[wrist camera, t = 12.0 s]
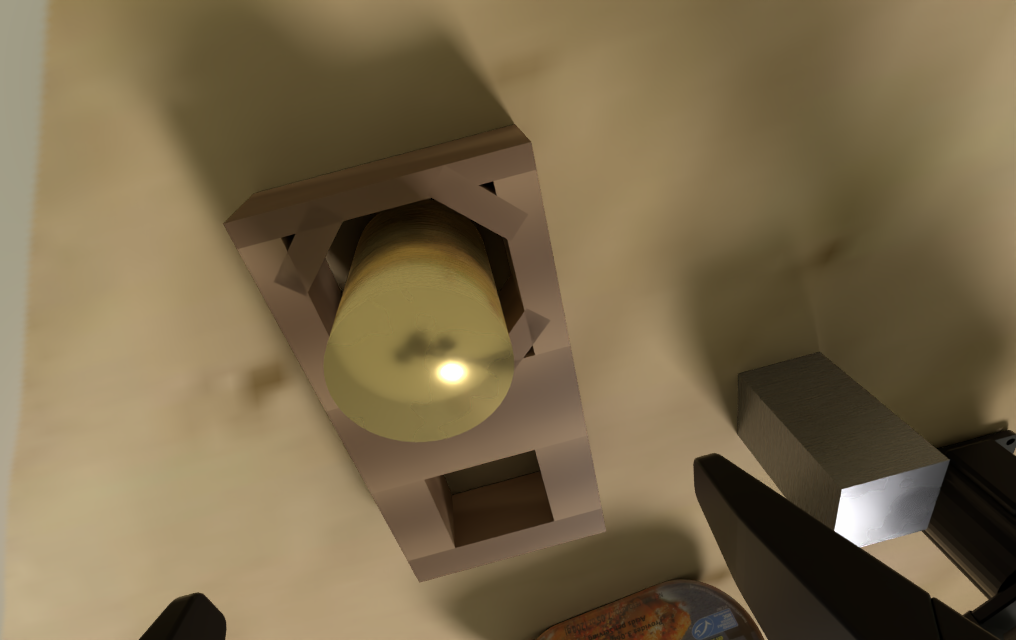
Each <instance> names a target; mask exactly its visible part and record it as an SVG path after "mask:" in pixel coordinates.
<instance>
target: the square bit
mask: <svg viewBox="0 0 1016 640" xmlns="http://www.w3.org/2000/svg"><path fill="white" fill-rule="evenodd" d="M737 434H738V436H739V437H740V438H741V440H742V441H743V442H744V444H745V445H746V446H747V448H748V449H749V450H750V452H751V453H752V454H753V455H754V457H755V458H756V459H757V461H758V462H759V463H760V465H761V466H762V467H763V469H764V470H765V471H766V473H767V474H768V475H769V476H770V478H771V479H772V480H773V482H774V483H775V484H776V486H777V487H778V488H779V490H780V491H781V492H782V494H783V495H784V496H785V497H786V499H788V500H789V501H791V502H792V503H794V504H795V505H797V506H798V507H800V508H801V509H803V510H804V511H806V512H807V513H809V514H810V515H812V516H813V517H815V518H816V519H818V520H819V521H821V522H822V523H824V524H825V525H827V526H828V527H830V528H831V529H833V530H834V531H836V532H837V533H839V534H840V535H842V536H843V537H845V538H846V539H848V540H849V541H851V542H852V543H854V544H855V545H857V546H858V547H863V546H867V545H871V544H874V543H878V542H882V541H885V540H889V539H893V538H896V537H900V536H904V535H907V534H911V533H915V532H918V531H922V530H926V529H927V527H928V524H929V521H930V518H931V515H932V512H933V509H934V506H935V503H936V500H937V497H938V494H939V491H940V488H941V485H942V482H943V479H944V476H945V473H946V470H947V467H948V464H949V461H950V460H949V459H948V458H947V457H946V456H945V455H943V454H942V453H941V452H940V451H939V450H937V449H936V448H935V447H934V446H932V445H931V444H930V443H929V442H928V441H926V440H925V439H924V438H923V437H922V436H920V435H919V434H918V433H917V432H916V431H914V430H913V429H912V428H911V427H910V426H908V425H907V424H906V423H905V422H904V421H902V420H901V419H900V418H899V417H898V416H896V415H895V414H894V413H893V412H892V411H890V410H889V409H888V408H887V407H886V406H884V405H883V404H882V403H881V402H880V401H878V400H877V399H876V398H875V397H873V396H872V395H871V394H870V393H869V392H867V391H866V390H865V389H864V388H863V387H861V386H860V385H859V384H858V383H857V382H855V381H854V380H853V379H852V378H851V377H849V376H848V375H847V374H846V373H845V372H843V371H842V370H841V369H840V368H839V367H837V366H836V365H835V364H834V363H833V362H831V361H830V360H829V359H828V358H827V357H825V356H824V355H823V354H822V353H820V352H817V353H813V354H809V355H806V356H802V357H798V358H795V359H791V360H787V361H784V362H780V363H776V364H773V365H769V366H765V367H762V368H758V369H754V370H750V371H747V372H743V373H739V374H738V417H737Z"/></svg>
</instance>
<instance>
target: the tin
mask: <svg viewBox="0 0 1016 640" xmlns="http://www.w3.org/2000/svg"><path fill="white" fill-rule="evenodd" d="M536 640H764V638H763V636H762V634H761V632H760V630H759V628H758V627H757V625H756V623H755V622H754V620H753V619H752V618H751V616H750V615H749V614H748V613H747V611H746V610H745V609H744V608H743V607H742V606H741V605H740V604H739V603H738V602H737V601H736V600H734V599H733V598H732V597H730V596H729V595H728V594H726V593H725V592H723V591H721V590H720V589H718V588H716V587H713V586H711V585H709V584H706V583H703V582H699V581H694V580H685V579H678V580H670V581H665V582H662V583H660V584H657V585H654V586H652V587H649V588H647V589H644V590H642V591H639V592H637V593H634V594H632V595H630V596H627V597H625V598H622V599H620V600H617V601H615V602H612V603H610V604H607V605H605V606H602V607H600V608H597V609H594V610H592V611H589V612H587V613H584V614H582V615H579V616H577V617H574V618H571V619H569V620H566V621H563V622H561V623H559V624H556V625H554V626H552V627H551V628H549V629H548V630H546V631H545V632H543V633H542V634H541V635H540V636H539V637H538V638H537V639H536Z"/></svg>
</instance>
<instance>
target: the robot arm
mask: <svg viewBox="0 0 1016 640" xmlns="http://www.w3.org/2000/svg"><path fill="white" fill-rule="evenodd" d="M1015 448H1016V433H1014V432H1013V431H1011V430H1006V431H1002V432H999V433H995V434H991V435H988V436H984V437H980V438H977V439H973V440H969V441H966V442H962V443H958V444H955V445H951V446H947V447H944V448H940V449H937V450H939V451H940V452H941V453H942V454H943V455H945V456H946V457H947V458H948V459H949V460H950V461H949V464H948V467H947V470H946V473H945V476H944V479H943V482H942V485H941V488H940V491H939V494H938V497H937V500H936V503H935V506H934V509H933V512H932V515H931V518H930V521H929V524H928V527H927V529H926V530H922V532H923V533H924V534H925V535H926V536H927V537H928V538H929V539H930V540H931V541H932V542H933V543H934V544H935V545H936V546H937V547H938V548H939V549H940V550H941V551H942V552H943V553H944V555H945V556H946V557H947V558H948V559H949V560H950V561H951V562H952V563H953V564H954V565H955V566H956V567H957V568H958V569H959V570H960V571H961V572H962V573H963V574H964V575H965V576H966V577H967V578H968V579H969V580H970V581H971V582H972V583H973V584H974V585H975V586H976V587H977V588H978V589H979V590H980V591H981V592H982V593H983V594H984V595H985V596H986V597H987V598H988V599H989V600H988V601H986V602H985V603H983V604H982V605H980V606H979V607H978V608H976V609H975V610H973V611H968V612H966V613H965V614H964V615H961V614H960V613H958V612H957V611H955V610H954V609H952V608H951V607H949V606H947V605H946V604H944V603H943V602H941V601H940V600H938V599H937V598H931V597H930V595H929V593H928V592H926V591H925V590H923V589H922V588H920V587H919V586H917V585H916V584H914V583H913V582H911V581H910V580H908V579H907V578H905V577H904V576H902V575H900V574H899V573H897V572H896V571H894V570H893V569H891V568H890V567H888V566H887V565H885V564H884V563H882V562H881V561H879V560H878V559H876V558H875V557H873V556H872V555H870V554H869V553H867V552H866V551H864V550H863V549H861V548H860V547H858V546H857V545H855V544H854V543H852V542H851V541H849V540H848V539H846V538H845V537H843V536H842V535H840V534H839V533H837V532H836V531H834V530H833V529H831V528H830V527H828V526H827V525H825V524H824V523H822V522H821V521H819V520H818V519H816V518H815V517H813V516H812V515H810V514H809V513H807V512H806V511H804V510H803V509H801V508H800V507H798V506H797V505H795V504H794V503H792V502H791V501H789V500H788V499H786V498H785V497H783V496H781V495H780V494H778V493H777V492H775V491H774V490H772V489H771V488H769V487H768V486H766V485H765V484H763V483H762V482H760V481H759V480H757V479H756V478H754V477H753V476H751V475H750V474H748V473H747V472H745V471H744V470H742V469H741V468H739V467H738V466H736V465H735V464H733V463H732V462H730V461H729V460H727V459H726V458H724V457H723V456H721V455H719V454H716V453H712V454H708V455H704V456H701V457H697V458H695V460H694V464H693V466H694V487H695V493H696V497H697V499H698V502H699V504H700V506H701V509H702V511H703V513H704V515H705V517H706V520H707V522H708V524H709V526H710V528H711V531H712V533H713V535H714V537H715V539H716V542H717V544H718V546H719V548H720V550H721V553H722V555H723V557H724V559H725V561H726V564H727V566H728V568H729V570H730V572H731V574H732V577H733V579H734V581H735V583H736V585H737V587H738V588H739V590H740V592H741V594H742V596H743V598H744V599H745V601H746V603H747V604H748V606H749V608H750V610H751V611H752V613H753V615H754V616H755V618H756V620H757V622H758V623H759V625H760V627H761V628H762V630H763V632H764V633H765V635H766V637H767V639H768V640H1016V456H1015V455H1014V454H1013V453H1014V450H1015ZM225 637H226V620H225V617H224V615H223V614H222V613H221V612H220V611H219V610H218V609H217V608H216V606H215V605H214V604H213V603H212V602H211V601H210V600H209V599H208V598H207V597H206V596H205V595H204V594H202V593H199V592H198V593H193V594H189V595H185V596H182V597H179V598H177V599H175V600H173V601H172V602H171V603H170V604H169V605H168V606H167V608H166V609H165V610H164V611H163V612H162V613H161V615H160V616H159V617H158V618H157V619H156V620H155V621H154V623H153V624H152V625H151V626H150V627H149V628H148V630H147V631H146V632H145V633H144V634H143V635H142V636H141V638H140V639H139V640H225Z"/></svg>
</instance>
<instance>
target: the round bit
mask: <svg viewBox="0 0 1016 640" xmlns="http://www.w3.org/2000/svg"><path fill="white" fill-rule="evenodd" d="M323 367H324V377H325V381H326V385H327V388H328V390H329V393H330V395H331V397H332V399H333V400H334V402H335V403H336V405H337V406H338V407H339V409H340V410H341V411H342V412H343V413H344V414H345V415H346V416H347V417H348V418H349V419H350V420H352V421H353V422H354V423H356V424H357V425H359V426H360V427H362V428H364V429H366V430H367V431H369V432H371V433H374V434H376V435H379V436H382V437H385V438H389V439H393V440H398V441H405V442H430V441H438V440H442V439H447V438H450V437H453V436H456V435H459V434H461V433H464V432H466V431H468V430H470V429H472V428H474V427H475V426H477V425H479V424H480V423H481V422H483V421H484V420H485V419H487V418H488V417H489V416H490V415H491V414H492V413H493V412H494V411H495V410H496V409H497V408H498V406H499V405H500V404H501V403H502V401H503V399H504V398H505V396H506V395H507V392H508V390H509V388H510V386H511V382H512V379H513V373H514V354H513V349H512V345H511V341H510V337H509V334H508V330H507V326H506V323H505V319H504V315H503V312H502V308H501V304H500V300H499V297H498V293H497V289H496V286H495V282H494V278H493V275H492V271H491V267H490V264H489V260H488V256H487V253H486V249H485V245H484V242H483V240H482V237H481V235H480V233H479V231H478V230H477V228H476V227H475V226H474V224H473V223H472V222H471V221H470V220H469V219H468V218H467V217H466V216H464V215H462V214H460V213H459V212H457V211H455V210H453V209H451V208H449V207H448V206H446V205H444V204H442V203H440V202H437V201H432V200H421V201H417V202H413V203H409V204H406V205H402V206H398V207H394V208H391V209H387V210H383V211H381V212H379V213H378V214H377V215H376V216H375V217H374V218H372V219H371V221H370V222H369V223H368V224H367V225H366V227H365V229H364V230H363V232H362V234H361V236H360V239H359V242H358V245H357V248H356V251H355V255H354V258H353V261H352V265H351V268H350V271H349V274H348V278H347V281H346V284H345V288H344V291H343V294H342V297H341V301H340V304H339V307H338V310H337V314H336V317H335V320H334V324H333V327H332V330H331V333H330V337H329V340H328V343H327V347H326V351H325V355H324V365H323Z"/></svg>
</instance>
